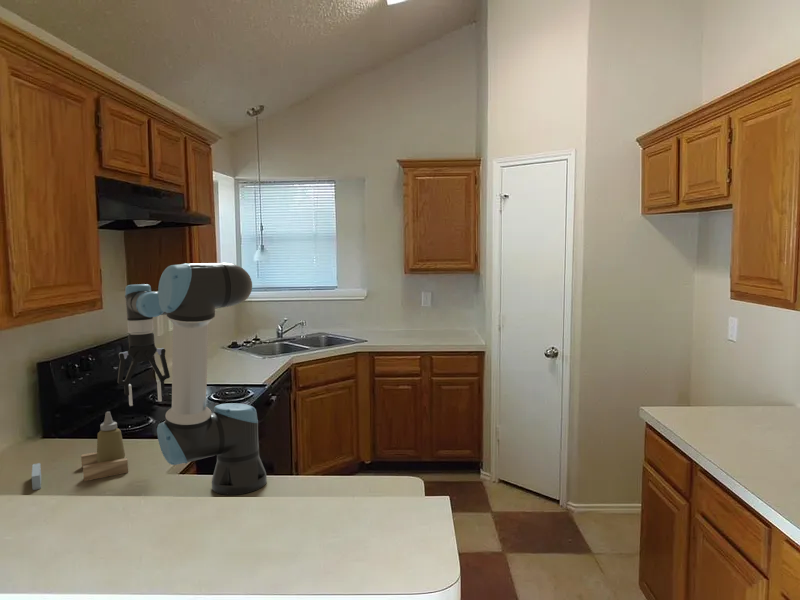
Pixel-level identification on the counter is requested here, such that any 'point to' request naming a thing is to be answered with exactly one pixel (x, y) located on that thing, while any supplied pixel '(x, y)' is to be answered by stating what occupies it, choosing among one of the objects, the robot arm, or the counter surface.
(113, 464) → the bar
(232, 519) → the counter surface
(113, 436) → the squeeze bottle
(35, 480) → the bar
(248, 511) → the counter surface
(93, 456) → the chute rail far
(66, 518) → the counter surface
